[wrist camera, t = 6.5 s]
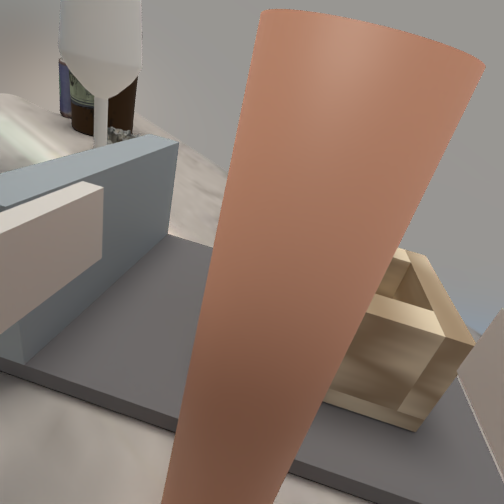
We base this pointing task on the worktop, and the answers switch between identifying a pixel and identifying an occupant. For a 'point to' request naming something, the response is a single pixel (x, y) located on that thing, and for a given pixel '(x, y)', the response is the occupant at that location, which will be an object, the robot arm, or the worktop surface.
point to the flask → (64, 89)
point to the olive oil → (117, 107)
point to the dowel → (306, 235)
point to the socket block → (403, 347)
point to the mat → (175, 374)
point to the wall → (114, 225)
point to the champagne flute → (101, 50)
